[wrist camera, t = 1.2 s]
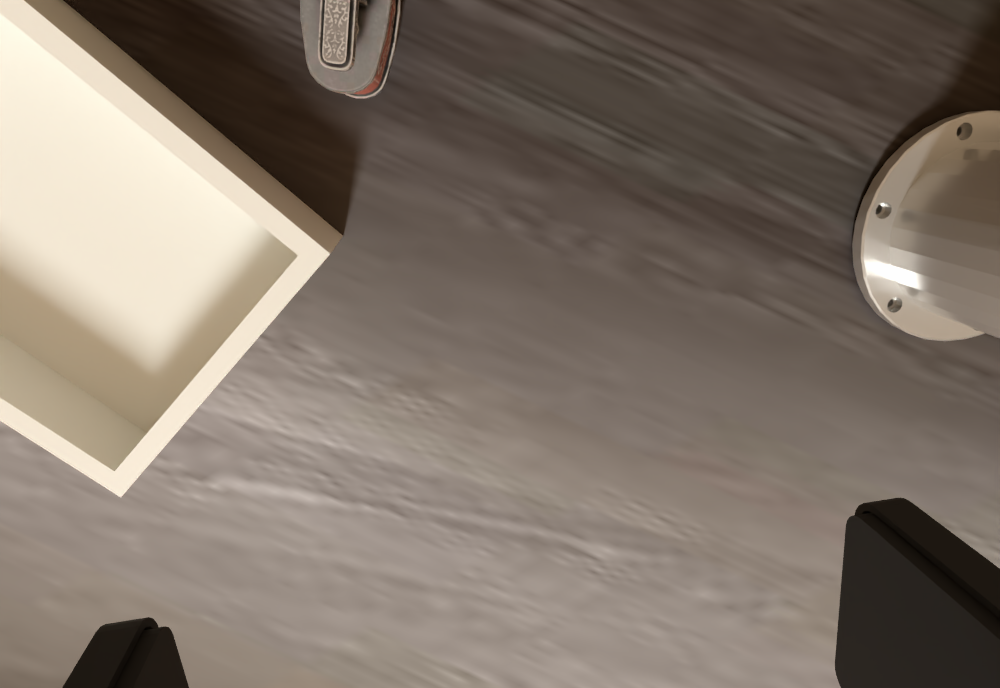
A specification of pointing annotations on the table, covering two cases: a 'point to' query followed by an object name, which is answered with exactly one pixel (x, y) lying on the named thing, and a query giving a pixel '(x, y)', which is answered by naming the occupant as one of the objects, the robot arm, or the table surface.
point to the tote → (125, 247)
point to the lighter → (350, 43)
